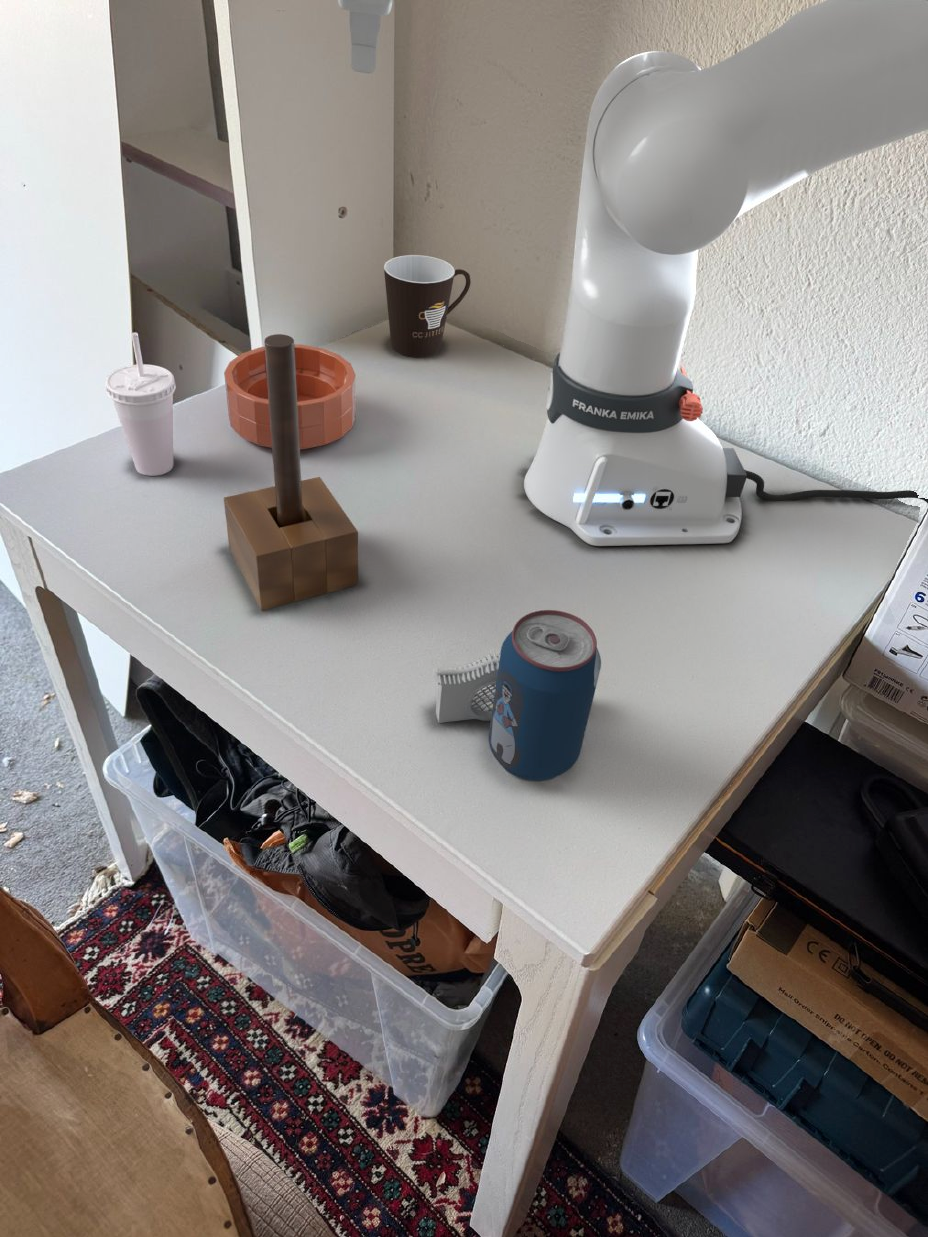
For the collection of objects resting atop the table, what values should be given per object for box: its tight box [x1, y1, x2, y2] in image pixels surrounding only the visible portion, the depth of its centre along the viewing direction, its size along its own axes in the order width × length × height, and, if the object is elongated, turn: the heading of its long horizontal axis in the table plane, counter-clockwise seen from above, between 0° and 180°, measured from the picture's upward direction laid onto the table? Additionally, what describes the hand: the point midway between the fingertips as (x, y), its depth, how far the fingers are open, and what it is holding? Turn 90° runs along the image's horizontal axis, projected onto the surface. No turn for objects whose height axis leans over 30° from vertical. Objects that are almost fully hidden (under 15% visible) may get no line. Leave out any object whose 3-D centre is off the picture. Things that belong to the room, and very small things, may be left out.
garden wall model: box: [434, 653, 501, 724], centre depth 71 cm, size 12×2×6 cm, turn 102°
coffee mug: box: [383, 254, 472, 359], centre depth 116 cm, size 12×9×10 cm
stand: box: [223, 476, 359, 611], centre depth 82 cm, size 9×9×6 cm
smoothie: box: [104, 332, 177, 477], centre depth 90 cm, size 6×6×14 cm
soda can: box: [488, 609, 602, 783], centre depth 66 cm, size 7×7×12 cm
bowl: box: [223, 343, 357, 450], centre depth 101 cm, size 14×14×6 cm
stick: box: [263, 333, 303, 528], centre depth 77 cm, size 2×2×22 cm
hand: (365, 49), depth 71 cm, fingers open, 8 cm apart
